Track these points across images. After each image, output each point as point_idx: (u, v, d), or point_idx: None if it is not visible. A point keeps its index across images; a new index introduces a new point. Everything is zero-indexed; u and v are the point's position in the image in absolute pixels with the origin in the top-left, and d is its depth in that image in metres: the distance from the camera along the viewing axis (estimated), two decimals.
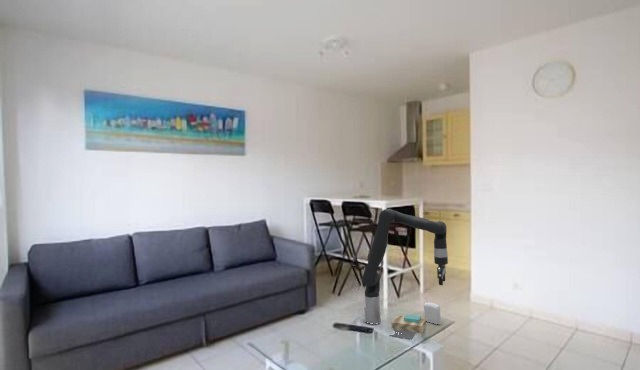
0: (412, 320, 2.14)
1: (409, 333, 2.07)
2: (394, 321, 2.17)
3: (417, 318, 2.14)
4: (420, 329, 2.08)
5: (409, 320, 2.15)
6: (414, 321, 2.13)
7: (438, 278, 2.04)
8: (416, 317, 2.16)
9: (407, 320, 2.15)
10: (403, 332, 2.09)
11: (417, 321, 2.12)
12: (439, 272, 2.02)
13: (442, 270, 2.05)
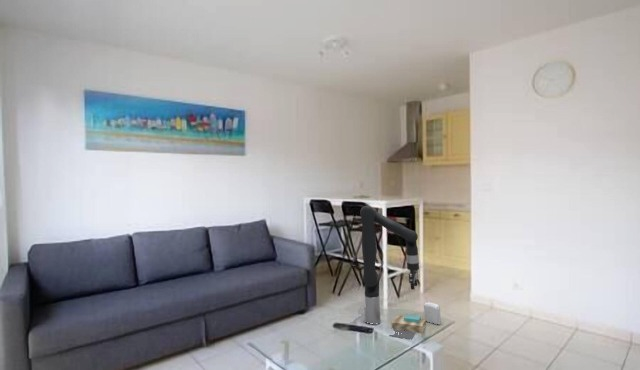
0: (412, 320, 2.14)
1: (409, 333, 2.07)
2: (394, 321, 2.17)
3: (417, 318, 2.14)
4: (420, 329, 2.08)
5: (409, 320, 2.15)
6: (414, 321, 2.13)
7: (410, 283, 2.21)
8: (416, 317, 2.16)
9: (407, 320, 2.15)
10: (403, 332, 2.09)
11: (417, 321, 2.12)
12: (410, 277, 2.19)
13: (413, 275, 2.22)
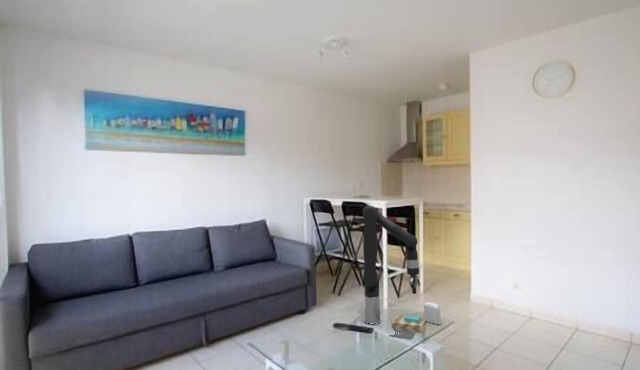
0: (412, 320, 2.14)
1: (409, 333, 2.07)
2: (394, 321, 2.17)
3: (417, 318, 2.14)
4: (420, 329, 2.08)
5: (409, 320, 2.15)
6: (414, 321, 2.13)
7: (412, 287, 2.24)
8: (416, 317, 2.16)
9: (407, 320, 2.15)
10: (403, 332, 2.09)
11: (417, 321, 2.12)
12: (412, 284, 2.21)
13: None
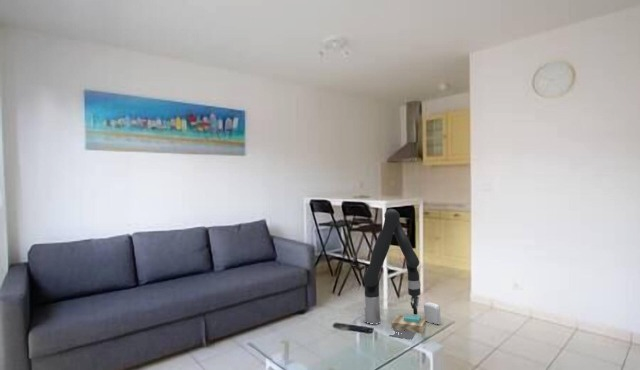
0: (412, 320, 2.14)
1: (409, 333, 2.07)
2: (394, 321, 2.17)
3: (417, 318, 2.14)
4: (420, 329, 2.08)
5: (409, 320, 2.15)
6: (414, 321, 2.13)
7: None
8: (416, 317, 2.16)
9: (407, 320, 2.15)
10: (403, 332, 2.09)
11: (417, 321, 2.12)
12: (413, 305, 2.20)
13: (415, 302, 2.22)
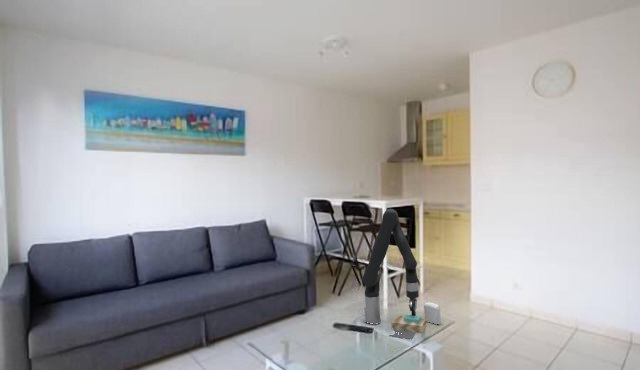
0: (412, 320, 2.14)
1: (409, 333, 2.07)
2: (394, 321, 2.17)
3: (417, 318, 2.14)
4: (420, 329, 2.08)
5: (409, 320, 2.15)
6: (414, 321, 2.13)
7: (411, 310, 2.20)
8: (416, 317, 2.16)
9: (407, 320, 2.15)
10: (403, 332, 2.09)
11: (417, 321, 2.12)
12: (411, 308, 2.16)
13: (414, 304, 2.18)
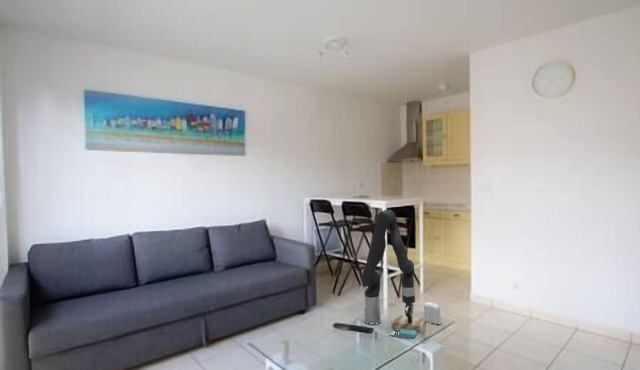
0: None
1: None
2: (394, 321, 2.17)
3: None
4: (420, 329, 2.08)
5: None
6: None
7: (407, 316, 2.11)
8: None
9: None
10: None
11: None
12: (407, 314, 2.07)
13: (410, 310, 2.09)
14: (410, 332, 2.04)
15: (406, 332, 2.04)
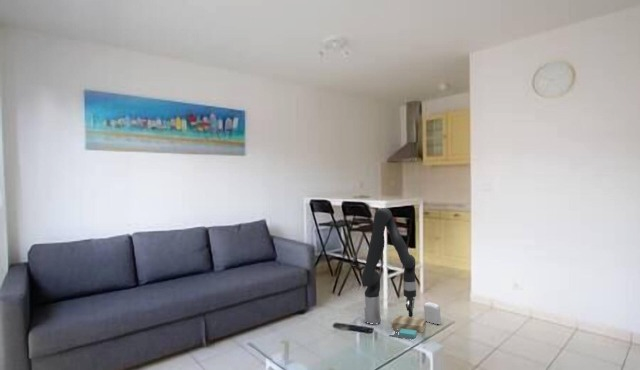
0: None
1: None
2: (394, 321, 2.17)
3: None
4: (420, 329, 2.08)
5: None
6: None
7: (408, 310, 2.15)
8: None
9: None
10: None
11: None
12: (408, 307, 2.11)
13: (411, 304, 2.13)
14: (410, 332, 2.04)
15: (406, 332, 2.04)
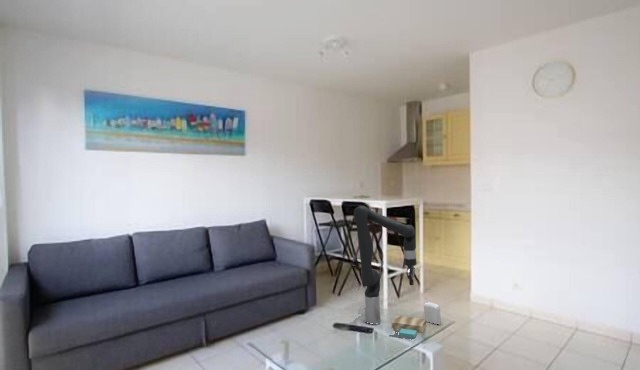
0: None
1: None
2: (394, 321, 2.17)
3: None
4: (420, 329, 2.08)
5: None
6: None
7: (409, 279, 2.19)
8: None
9: None
10: None
11: None
12: (409, 275, 2.15)
13: (411, 272, 2.17)
14: (410, 332, 2.04)
15: (406, 332, 2.04)
